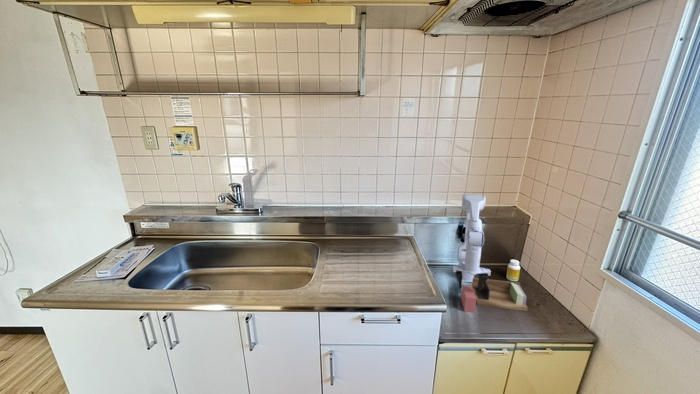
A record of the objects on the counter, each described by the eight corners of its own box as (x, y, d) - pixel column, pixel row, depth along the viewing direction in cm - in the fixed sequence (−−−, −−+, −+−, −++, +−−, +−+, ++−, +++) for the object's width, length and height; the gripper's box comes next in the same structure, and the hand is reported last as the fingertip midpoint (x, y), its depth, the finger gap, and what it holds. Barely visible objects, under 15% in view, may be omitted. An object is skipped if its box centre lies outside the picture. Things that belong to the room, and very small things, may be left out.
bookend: (474, 288, 132) (475, 279, 131) (484, 289, 132) (485, 280, 130) (478, 299, 125) (479, 289, 124) (488, 300, 124) (490, 290, 123)
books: (509, 292, 129) (510, 282, 128) (517, 293, 129) (519, 283, 127) (516, 304, 121) (517, 294, 120) (525, 305, 120) (527, 295, 119)
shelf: (471, 289, 134) (472, 277, 132) (517, 294, 130) (519, 282, 128) (476, 305, 123) (478, 292, 121) (527, 310, 118) (529, 298, 117)
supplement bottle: (518, 282, 139) (521, 264, 136) (506, 280, 141) (509, 262, 139) (518, 277, 144) (520, 259, 141) (506, 274, 146) (508, 257, 144)
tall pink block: (460, 299, 127) (462, 285, 125) (470, 300, 126) (471, 286, 125) (464, 311, 119) (465, 297, 117) (474, 313, 118) (476, 298, 116)
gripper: (455, 262, 114) (452, 291, 118) (494, 265, 111) (490, 295, 115) (453, 254, 121) (450, 282, 125) (489, 257, 118) (486, 285, 122)
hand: (469, 288), depth 120 cm, fingers open, 7 cm apart
